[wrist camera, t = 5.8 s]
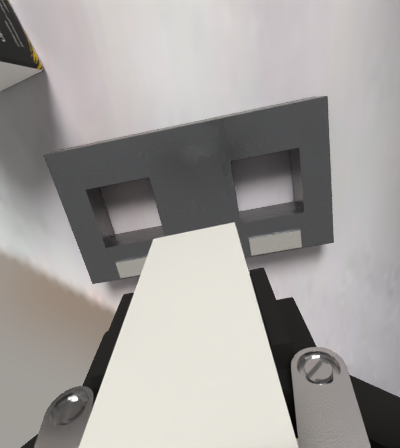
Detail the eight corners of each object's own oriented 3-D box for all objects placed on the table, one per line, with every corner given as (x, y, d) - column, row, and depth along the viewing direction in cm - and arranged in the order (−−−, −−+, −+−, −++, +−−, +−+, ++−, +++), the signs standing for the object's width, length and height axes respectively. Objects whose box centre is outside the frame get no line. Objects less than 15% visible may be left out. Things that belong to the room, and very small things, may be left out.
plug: (234, 222, 15) (313, 502, 4) (250, 301, 16) (334, 643, 6) (153, 239, 15) (47, 536, 5) (176, 315, 16) (136, 661, 6)
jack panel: (313, 96, 25) (328, 96, 22) (321, 229, 29) (334, 243, 26) (60, 149, 27) (42, 155, 24) (102, 267, 31) (92, 285, 28)
